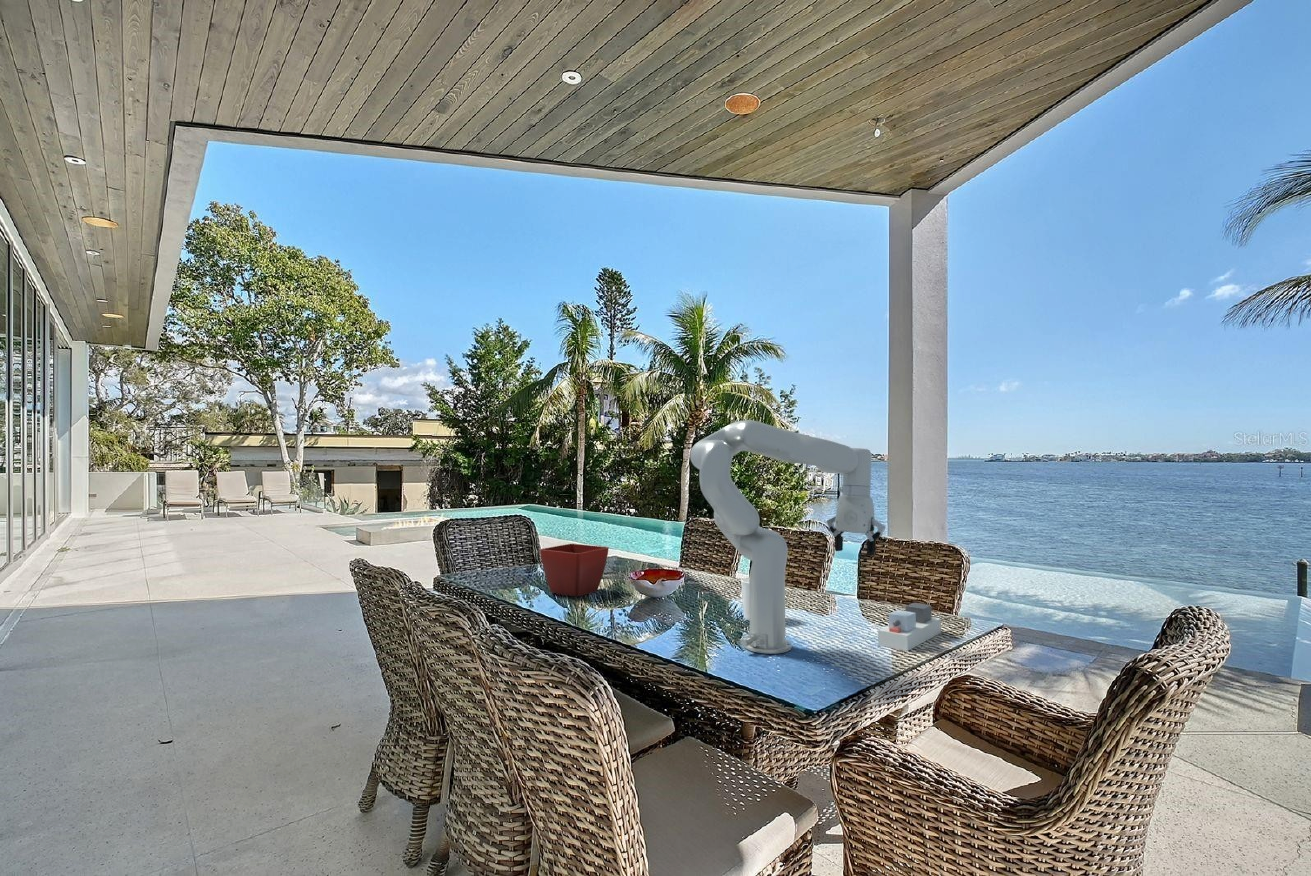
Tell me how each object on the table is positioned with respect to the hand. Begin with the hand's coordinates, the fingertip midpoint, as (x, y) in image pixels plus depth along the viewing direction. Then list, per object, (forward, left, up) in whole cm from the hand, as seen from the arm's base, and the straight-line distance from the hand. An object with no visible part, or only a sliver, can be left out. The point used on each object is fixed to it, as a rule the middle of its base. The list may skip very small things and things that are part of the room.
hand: (854, 553), depth 184 cm
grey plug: (+5, -11, -24) cm, 27 cm away
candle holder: (+1, +34, -24) cm, 42 cm away
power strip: (+11, -11, -24) cm, 29 cm away
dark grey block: (+17, -11, -24) cm, 32 cm away
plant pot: (-13, +107, -25) cm, 110 cm away
